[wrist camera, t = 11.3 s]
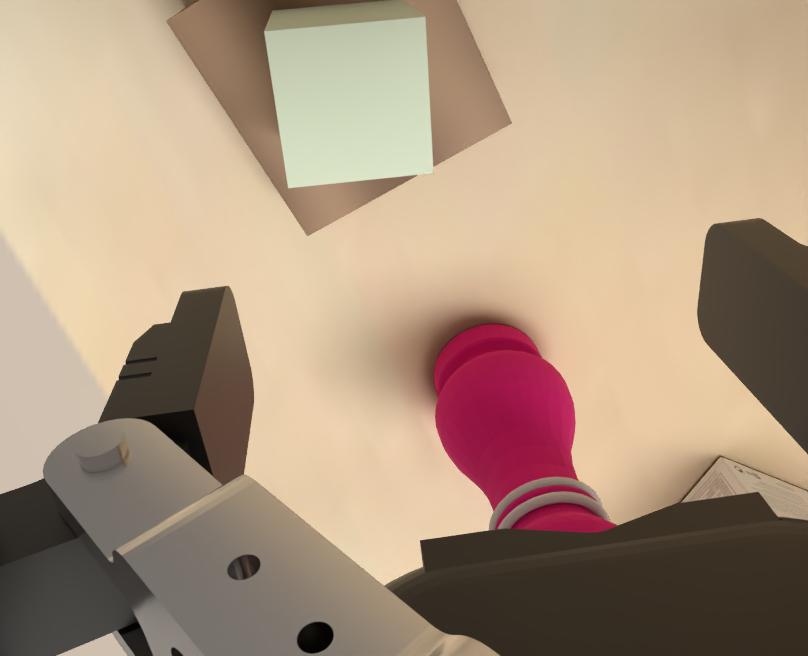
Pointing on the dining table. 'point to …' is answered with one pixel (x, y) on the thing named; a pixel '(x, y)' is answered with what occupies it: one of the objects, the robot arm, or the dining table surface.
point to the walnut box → (255, 105)
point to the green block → (351, 91)
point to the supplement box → (751, 488)
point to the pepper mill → (513, 431)
